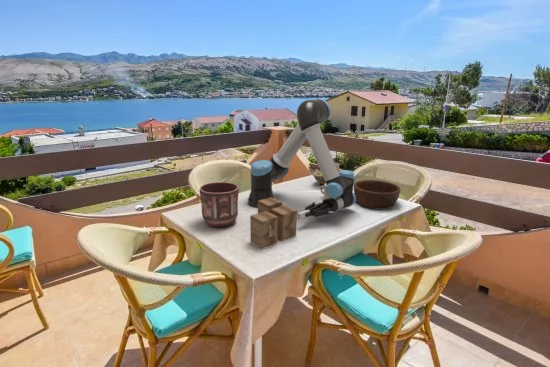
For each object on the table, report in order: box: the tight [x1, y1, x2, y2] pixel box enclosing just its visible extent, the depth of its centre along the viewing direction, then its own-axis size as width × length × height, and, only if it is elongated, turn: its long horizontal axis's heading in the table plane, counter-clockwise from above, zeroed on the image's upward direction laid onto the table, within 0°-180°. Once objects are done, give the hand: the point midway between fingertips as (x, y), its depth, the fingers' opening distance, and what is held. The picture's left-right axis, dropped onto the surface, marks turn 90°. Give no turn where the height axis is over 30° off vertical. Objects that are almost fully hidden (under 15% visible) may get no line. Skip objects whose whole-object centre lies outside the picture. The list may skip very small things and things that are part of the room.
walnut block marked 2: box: [257, 197, 283, 213], centre depth 148 cm, size 8×8×12 cm
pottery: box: [199, 181, 240, 229], centre depth 149 cm, size 18×18×18 cm
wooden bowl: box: [353, 179, 401, 210], centre depth 178 cm, size 25×25×10 cm
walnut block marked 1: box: [249, 211, 278, 250], centre depth 131 cm, size 8×8×12 cm
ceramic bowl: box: [312, 165, 343, 187], centre depth 209 cm, size 24×18×15 cm
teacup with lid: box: [319, 183, 330, 201], centre depth 183 cm, size 12×9×12 cm
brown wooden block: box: [271, 204, 298, 241], centre depth 138 cm, size 8×8×12 cm
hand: (298, 216), depth 144 cm, fingers closed
